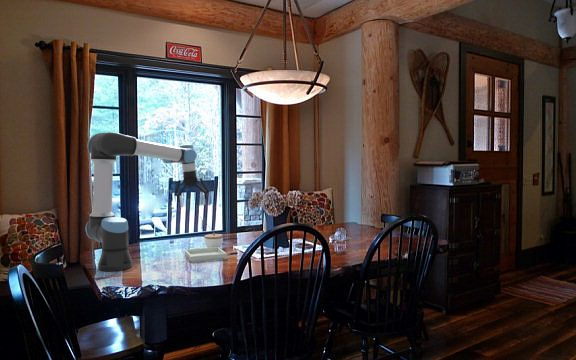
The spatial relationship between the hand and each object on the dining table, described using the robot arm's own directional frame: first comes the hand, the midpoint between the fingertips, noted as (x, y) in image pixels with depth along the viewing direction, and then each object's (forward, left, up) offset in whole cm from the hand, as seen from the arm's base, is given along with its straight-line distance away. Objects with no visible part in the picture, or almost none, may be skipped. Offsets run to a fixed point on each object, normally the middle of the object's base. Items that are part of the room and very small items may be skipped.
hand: (193, 205), depth 244 cm
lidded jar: (+10, -10, -25) cm, 28 cm away
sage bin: (+1, -30, -25) cm, 39 cm away
